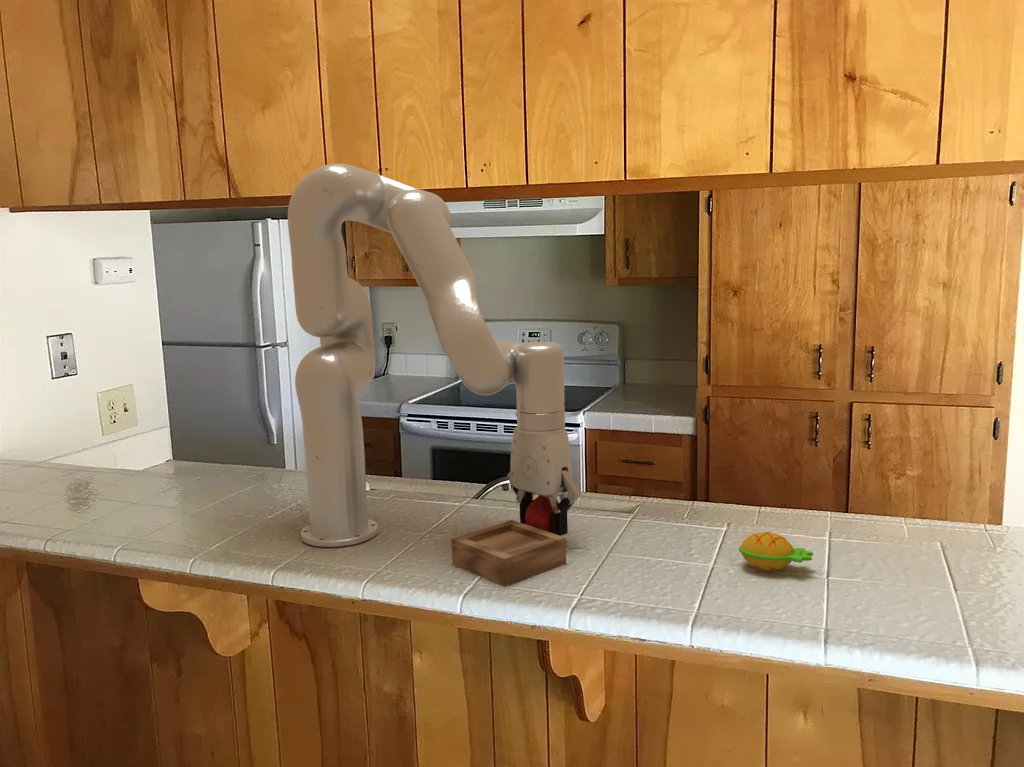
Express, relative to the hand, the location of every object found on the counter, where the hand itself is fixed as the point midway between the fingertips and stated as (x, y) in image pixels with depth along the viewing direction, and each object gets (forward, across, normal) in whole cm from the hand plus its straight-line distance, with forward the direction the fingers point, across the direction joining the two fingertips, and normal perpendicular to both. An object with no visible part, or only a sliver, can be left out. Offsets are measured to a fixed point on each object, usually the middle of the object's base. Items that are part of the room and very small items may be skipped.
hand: (543, 529), depth 135 cm
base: (+2, +4, -11) cm, 12 cm away
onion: (+2, 0, 0) cm, 2 cm away
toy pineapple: (+2, +33, +14) cm, 36 cm away
